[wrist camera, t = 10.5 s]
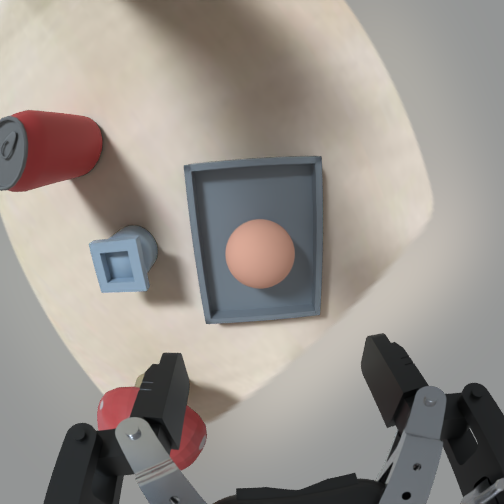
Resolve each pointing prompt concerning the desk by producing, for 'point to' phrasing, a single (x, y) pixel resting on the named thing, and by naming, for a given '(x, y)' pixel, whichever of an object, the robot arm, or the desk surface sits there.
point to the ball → (260, 253)
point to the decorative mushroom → (119, 408)
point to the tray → (250, 208)
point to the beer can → (46, 148)
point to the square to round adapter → (124, 260)
